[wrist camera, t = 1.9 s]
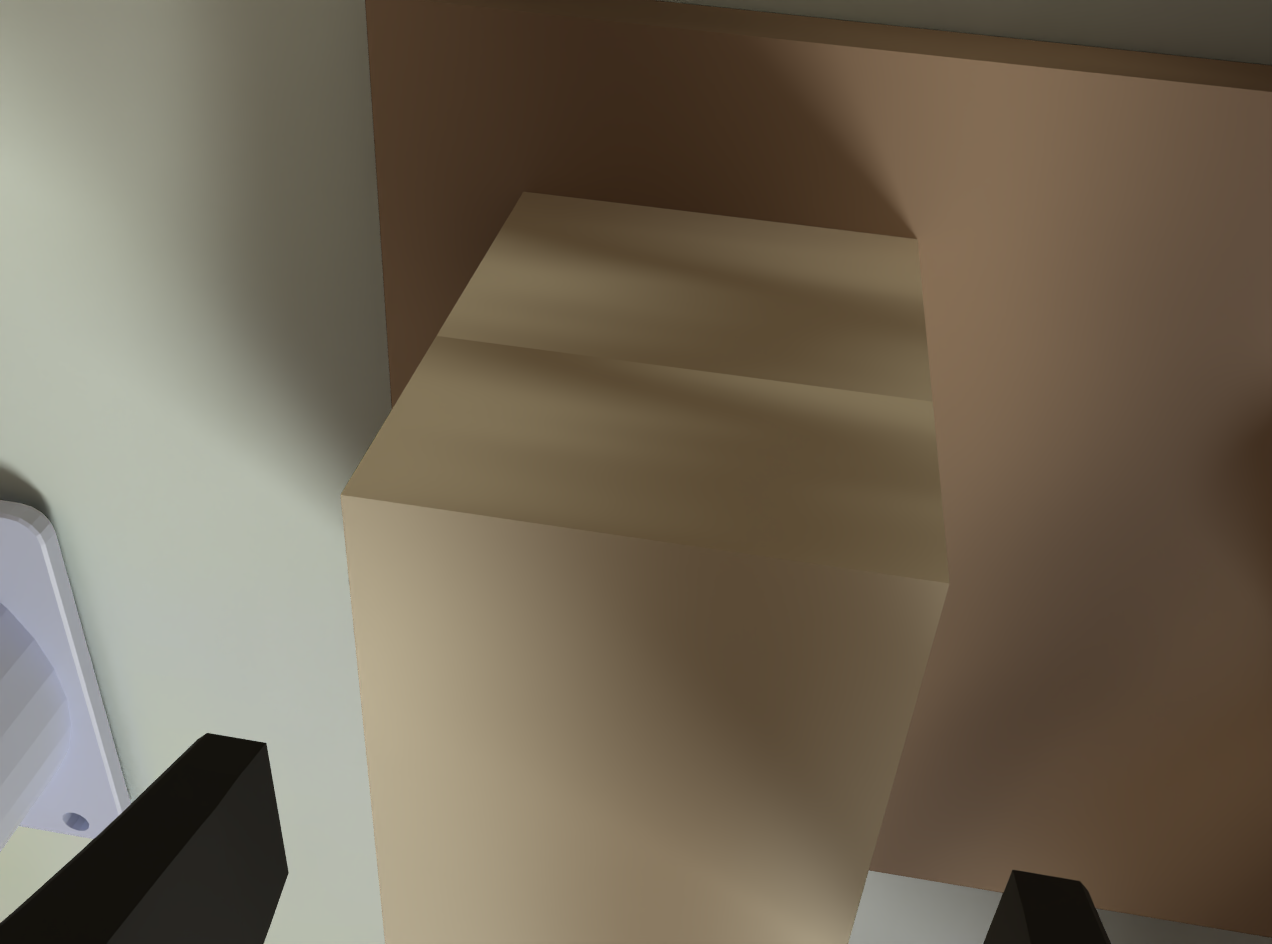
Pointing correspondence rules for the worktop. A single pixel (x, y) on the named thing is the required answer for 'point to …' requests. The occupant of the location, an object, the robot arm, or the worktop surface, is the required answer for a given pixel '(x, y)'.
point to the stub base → (956, 375)
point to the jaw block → (648, 582)
